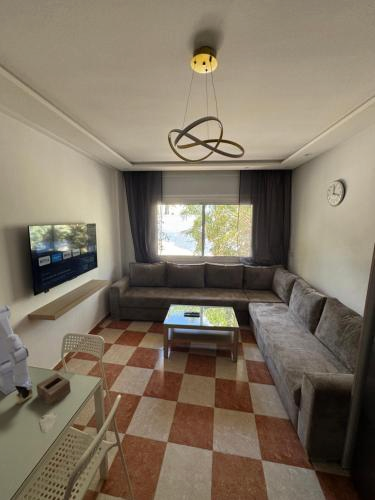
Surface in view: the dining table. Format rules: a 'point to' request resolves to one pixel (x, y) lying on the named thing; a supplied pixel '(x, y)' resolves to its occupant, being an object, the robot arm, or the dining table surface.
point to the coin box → (53, 388)
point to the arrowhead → (47, 422)
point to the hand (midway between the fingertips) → (24, 395)
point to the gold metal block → (20, 398)
